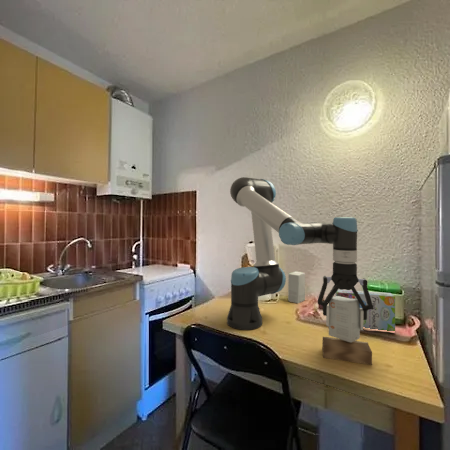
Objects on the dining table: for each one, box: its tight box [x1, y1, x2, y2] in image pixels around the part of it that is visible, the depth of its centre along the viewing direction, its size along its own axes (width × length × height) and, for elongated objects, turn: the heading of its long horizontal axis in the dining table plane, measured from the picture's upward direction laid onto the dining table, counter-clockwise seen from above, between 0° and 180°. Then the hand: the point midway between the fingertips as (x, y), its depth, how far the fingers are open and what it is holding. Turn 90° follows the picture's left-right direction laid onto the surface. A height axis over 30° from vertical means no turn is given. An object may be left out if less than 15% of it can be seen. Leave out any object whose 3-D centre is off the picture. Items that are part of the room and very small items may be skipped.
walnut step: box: [321, 336, 373, 366], centre depth 86 cm, size 14×6×4 cm, turn 72°
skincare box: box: [287, 270, 306, 304], centre depth 145 cm, size 8×7×16 cm
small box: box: [328, 295, 361, 343], centre depth 91 cm, size 8×6×13 cm
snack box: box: [335, 289, 396, 332], centre depth 108 cm, size 21×6×15 cm, turn 73°
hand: (344, 326), depth 90 cm, fingers closed on small box, 10 cm apart
